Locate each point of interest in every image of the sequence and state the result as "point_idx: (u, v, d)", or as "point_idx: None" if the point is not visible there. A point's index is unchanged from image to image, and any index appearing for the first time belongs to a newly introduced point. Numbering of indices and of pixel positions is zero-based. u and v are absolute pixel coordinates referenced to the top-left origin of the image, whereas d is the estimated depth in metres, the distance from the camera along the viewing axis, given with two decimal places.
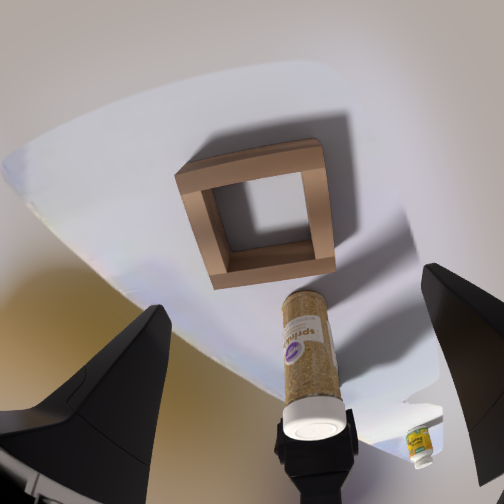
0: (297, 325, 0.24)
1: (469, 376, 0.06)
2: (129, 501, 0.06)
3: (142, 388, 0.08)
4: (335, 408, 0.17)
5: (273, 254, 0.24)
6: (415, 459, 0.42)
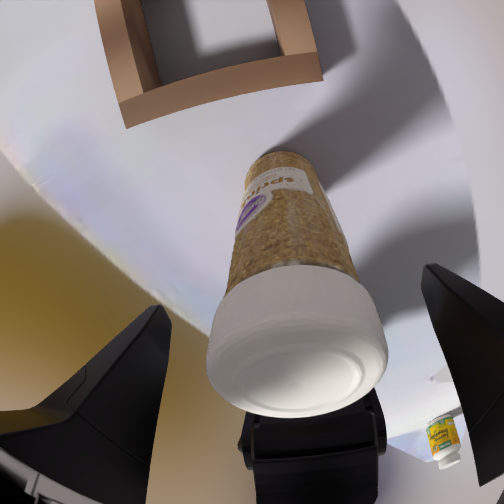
0: (262, 179, 0.13)
1: (469, 376, 0.06)
2: (129, 501, 0.06)
3: (142, 388, 0.08)
4: (354, 300, 0.06)
5: None
6: (439, 457, 0.31)
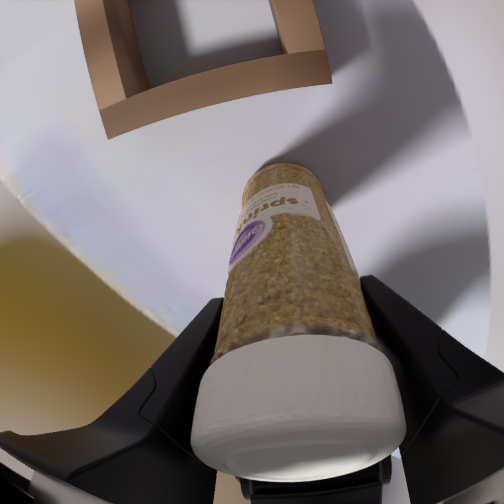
0: (261, 198, 0.11)
1: None
2: None
3: None
4: (373, 382, 0.04)
5: None
6: None
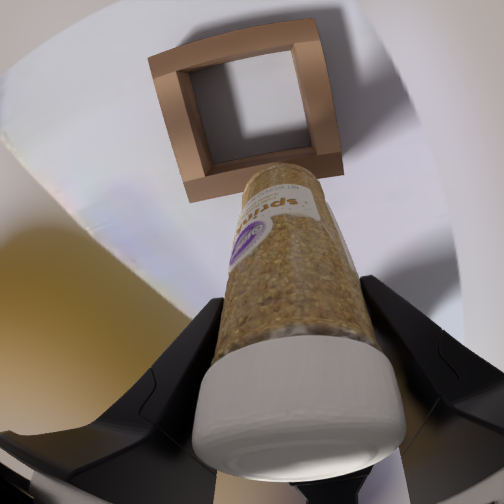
0: (261, 199, 0.11)
1: None
2: None
3: None
4: (374, 382, 0.04)
5: (264, 158, 0.19)
6: None
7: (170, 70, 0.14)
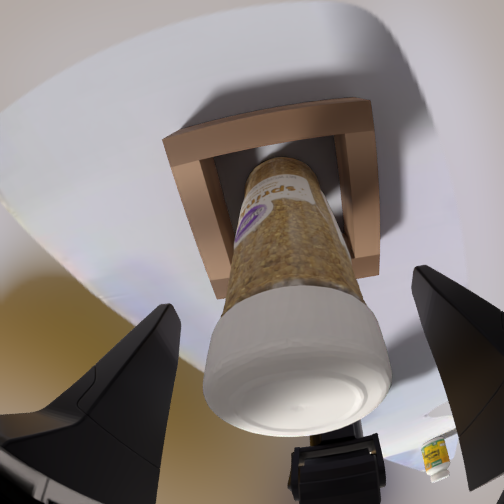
0: (263, 187, 0.13)
1: (458, 380, 0.06)
2: None
3: (152, 388, 0.08)
4: (359, 323, 0.06)
5: None
6: (431, 473, 0.36)
7: (192, 158, 0.14)
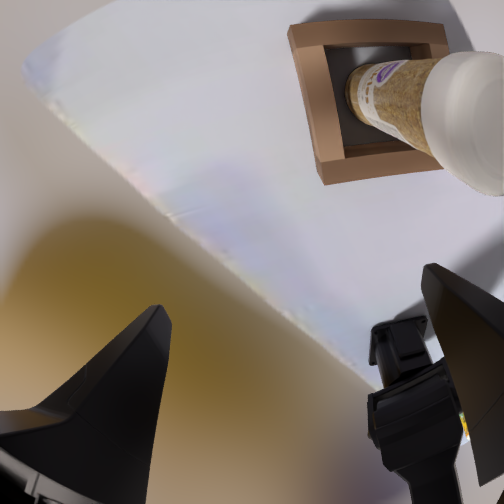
0: (382, 63, 0.12)
1: (469, 376, 0.06)
2: (129, 501, 0.06)
3: (142, 388, 0.08)
4: None
5: (390, 145, 0.17)
6: None
7: (316, 43, 0.13)
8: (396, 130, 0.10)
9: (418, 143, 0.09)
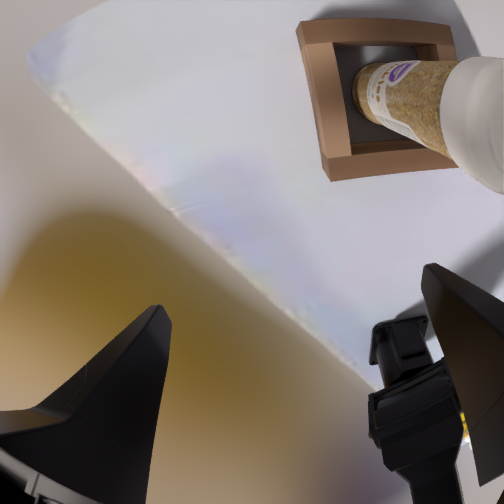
0: (392, 63, 0.12)
1: (469, 376, 0.06)
2: (129, 501, 0.06)
3: (142, 388, 0.08)
4: None
5: (396, 144, 0.17)
6: None
7: (326, 40, 0.13)
8: (409, 129, 0.10)
9: (432, 142, 0.09)
